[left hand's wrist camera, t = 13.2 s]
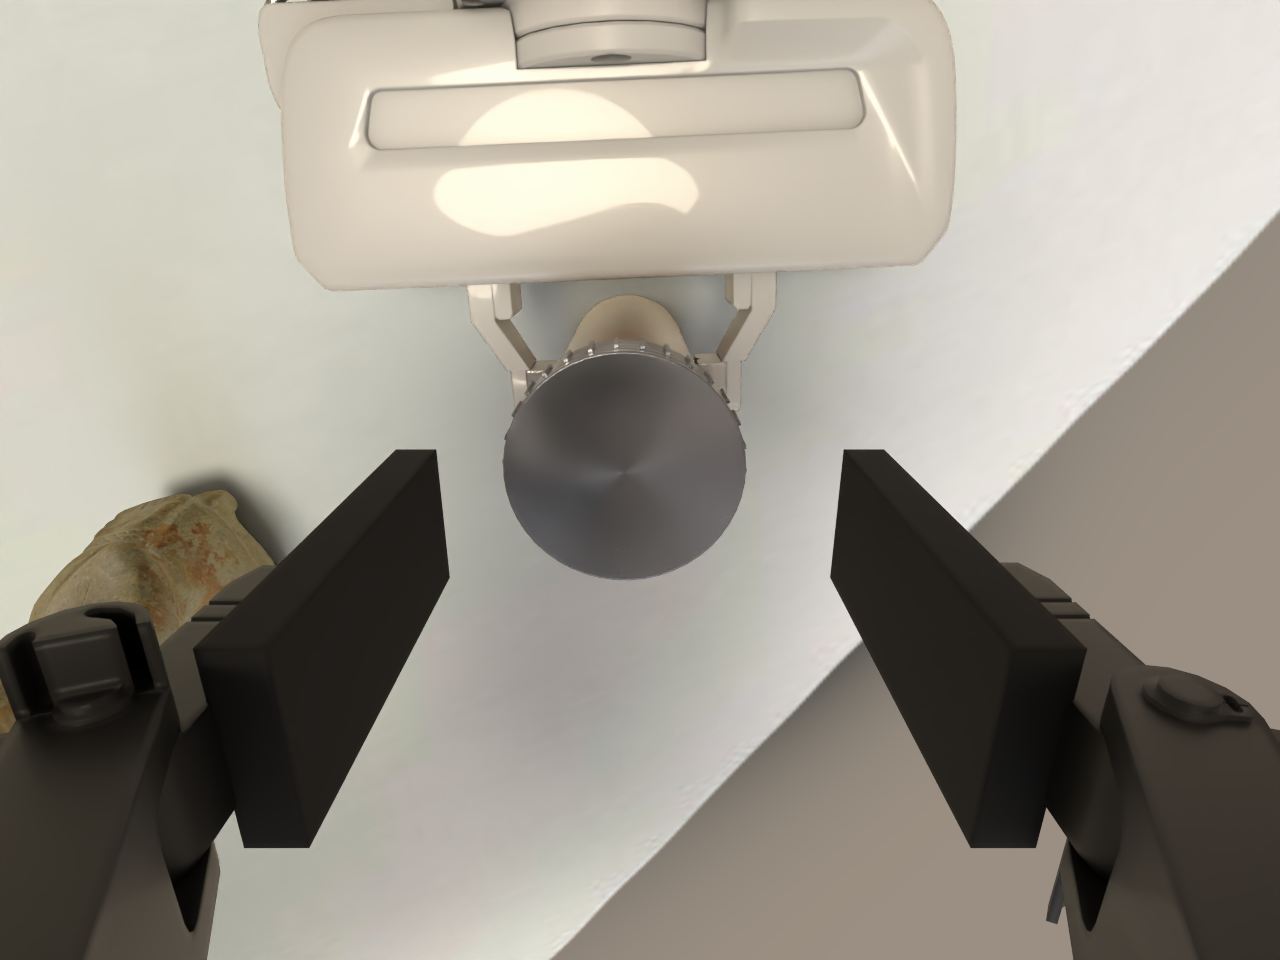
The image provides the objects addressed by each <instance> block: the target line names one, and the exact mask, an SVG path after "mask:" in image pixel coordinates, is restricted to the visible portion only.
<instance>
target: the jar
mask: <svg viewBox="0 0 1280 960" xmlns="http://www.w3.org/2000/svg"><path fill="white" fill-rule="evenodd" d="M615 337H619V340H620V339H621V340H639V341H640V338H645V341H646V342H651V343H655V344H658V345H661V346H664V344H665V343H666V344H668V345H669V347H670V349H672V350H674V351H676V352H678V353H680V354H682V355H684V356H685V357H686V356H687V354H688V355H690V353H689V350H688V348H687V346H686V343H685V341H684V338H683V336H682V334H681V331H680V329H679V327H678V325H677V323H676V321H675V320H674V318H673V317H672V316H671V314H670V313H669V312H668V311H667V310H666V309H664V308H663V307H662V306H661V305H659V304H658V303H656V302H654V301H652V300H650V299H648V298H645V297H641V296H636V295H620V296H615V297H611V298H609V299H606V300H604V301H602V302H600V303H598V304H597V305H596V306H594V307H593V308H592V309H591V310H590V311H589V312H588V313H587V314H586V315H585V316H584V318H583V319H582V320H581V322H580V324H579V326H578V328H577V330H576V332H575V334H574V336H573V338H572V340H571V342H570V344H569V346H568V348H567V350H566V352H567V351H568V350H570V349H571V351H572V352H573V351H575V350H578V349H580V348H583V347H585V346H588V345H589V343H590V341H593V340H594V342H595V343H599V342H603V341H610V340H614V339H615ZM566 352H565V354H566ZM565 354H564V356H565ZM564 356H563V357H564ZM690 356H691V355H690Z"/></svg>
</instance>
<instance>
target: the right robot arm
mask: <svg viewBox="0 0 1280 960" xmlns="http://www.w3.org/2000/svg"><path fill="white" fill-rule="evenodd" d="M286 1H287V0H266V2H265V4H264V6H263V7H262V9H261V10H260V14H259V24H258V27H259V37H260V42H261V47H262V52H263V58H264V63H265V68H266V73H267V78H268V83H269V86H270V89H271V91H272V94H273V96H274V99H275V101H276V103H277V104H278V106H279V108H280V109H281V130H282V153H283V167H284V180H285V191H286V199H287V208H288V216H289V223H290V230H291V237H292V242H293V248H294V252H295V255H296V258H297V259H298V261H299V263H300V264H301V265H302V266H303V267H304V268H305V269H306V271H307V272H308V273H309V274H310V275H311V276H312V277H313V278H314V279H315V280H316V281H317V282H318V283H319V284H320V285H321V286H323V287H324V288H325V289H327V290H329V291H354V290H377V289H399V288H421V287H444V286H466V285H467V293H468V301H469V309H470V317H471V322H472V324H473V325H474V327H475V328H476V329H477V331H478V332H479V333H480V335H481V336H482V338H483V339H484V340H485V342H486V343H487V344H488V346H489V347H490V349H491V350H492V351H493V353H494V354H495V355H496V357H497V358H498V360H499V361H500V362H501V364H502V365H503V366H504V368H505V369H506V371H511V378H512V387H513V396H514V405H515V408H516V407H517V405H518V403H519V402H520V401H522V402H523V401H524V399H525V398H526V395H524V393H525V391H526V390H527V388H528V386H529V385H530V383H531V382H532V381H534V382H536V381H537V380H538V379H539V377H540V376H541V375H542V373H543V371H544V369H545V368H546V366H547V365H548V364H549V363H550V364H551V365H553V364H554V363H556V362H557V361H558V360H547V361H536V358H535V357H534V355H533V354H532V352H531V351H530V349H529V348H528V346H527V345H526V343H525V342H524V340H523V338H522V337H521V335H520V334H519V332H518V331H517V329H516V328H515V326H514V325H513V323H512V322H511V320H510V319H511V318H512V317H513V316H514V315H516V314H517V313H518V312H519V311H520V310H521V309H522V301H521V289H520V283H534V282H556V281H578V280H601V279H623V278H646V277H668V276H691V275H713V274H725V288H726V300H727V301H728V302H729V303H730V304H731V305H733V306H734V307H735V308H736V309H739V310H738V312H737V314H736V315H735V317H734V319H733V321H732V323H731V325H730V327H729V328H728V330H727V332H726V334H725V336H724V338H723V339H722V341H721V343H720V345H719V347H718V349H717V351H716V352H717V353H706V354H694V363H695V364H697V365H698V366H699V367H700V368H701V369H703V370H704V371H706V370H708V371H709V372H710V373H711V375H712V377H713V379H714V381H715V384H716V385H717V387H718V388H719V389H722V388H723V389H724V391H725V393H726V395H727V397H728V398H729V400H730V403H729V404H728V406H729V408H730V410H732V409H734V411H736V410H739V409H740V404H741V361H745V360H746V358H747V356H748V355H749V353H750V351H751V350H752V348H753V346H754V345H755V343H756V341H757V339H758V338H759V336H760V334H761V333H762V331H763V329H764V328H765V326H766V324H767V323H768V321H769V319H770V318H771V316H772V314H773V313H774V311H775V309H776V281H777V272H780V271H803V270H825V269H848V268H870V267H892V266H913V265H917V264H919V263H921V262H922V261H923V260H924V259H925V258H926V257H927V256H928V255H929V253H930V252H931V251H932V250H933V248H934V247H935V246H936V245H937V243H938V242H939V241H940V239H941V238H942V237H943V235H944V234H945V233H946V230H947V228H948V225H949V222H950V216H951V210H952V202H953V191H954V178H955V162H956V118H957V106H956V75H955V59H954V50H953V45H952V40H951V36H950V32H949V29H948V26H947V23H946V21H945V19H944V17H943V15H942V13H941V11H940V9H939V8H938V7H937V6H936V4H935V3H934V2H933V0H308V1H305V2H286Z"/></svg>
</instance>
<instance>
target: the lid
mask: <svg viewBox="0 0 1280 960" xmlns="http://www.w3.org/2000/svg"><path fill="white" fill-rule="evenodd" d="M524 395H526V398H525V399H524V401H523V402H522V401H520V402H519V403H518V405H517V407H516V408H515V410H514V412H513V414H512V416H513V417H514V419H513V421H512V424H511V426H510V428H509V430H508V432H507V433H506V435H505V440H506V443H505V448H504V458H503V472H504V481H505V487H506V492H507V495H508V498H509V501H510V504H511V507H512V509H513V511H514V513H515V515H516V517H517V519H518V521H519V522H520V524H521V525H522V527H523V528H524V530H525V531H526V533H527V534H528V535H529V536H530V537H531V538H532V540H533V541H534V542H535V543H536V544H537V545H538V546H539V547H540V548H542V549H543V550H544V551H545V552H546V553H547V554H549V555H550V556H552V557H553V558H554V559H556V560H557V561H559V562H561V563H562V564H564V565H566V566H568V567H570V568H572V569H574V570H577V571H579V572H582V573H585V574H588V575H592V576H596V577H599V578H606V579H613V580H635V579H645V578H650V577H654V576H659V575H662V574H665V573H668V572H671V571H674V570H676V569H678V568H680V567H682V566H684V565H686V564H688V563H689V562H691V561H692V560H694V559H696V558H697V557H699V556H700V555H701V554H702V553H704V552H705V551H706V550H707V549H708V548H710V547H711V546H712V545H713V544H714V542H715V541H716V540H717V539H718V538H719V537H720V536H721V535H722V533H723V532H724V531H725V529H726V528H727V526H728V525H729V523H730V522H731V520H732V518H733V516H734V514H735V512H736V510H737V508H738V505H739V502H740V500H741V497H742V493H743V488H744V484H745V474H746V457H745V449H746V444H745V442H744V440H743V438H742V435H741V432H740V429H739V427H738V426H739V425H741V423H740V421H739V419H738V417H737V415H736V413H735V411H734V409H732V410H730V408H729V406H728V404H729V403H730V400H729V398H728V397H727V395H726V393H725V391H724V389H723V388H722V389H719V388H718V387H717V385H716V384H715V381H714V379H713V377H712V375H711V373H710V372H709V371H708V370H706V371H704V370H703V369H701V368H700V367H699V366H698V365H697V364H695V363H694V362H693V360H692V358H691V356H690V355H688V354H687V356H686V357H685V356H684V355H682V354H680V353H678V352H676V351H674V350H672V349H670V347H669V345H668V344H666V343H665V344H664V346H661V345H658V344H655V343H651V342H646V341H645V338H640V341H639V340H621V339H620V340H619V337H615V339H614V340H610V341H603V342H599V343H595V342H594V340H593V341H590V343H589V345H588V346H585V347H583V348H580V349H578V350H575V351H573V352H572V351H571V349H570V350H568V351H567V352H566V354H565V356H564V357H563V358H561V359H560V360H558V361H557V362H556V363H554V364H553V365H551V364H550V363H549V364H548V365H547V366H546V368H545V369H544V371H543V373H542V375H541V376H540V377H539V379H538V380H537V381H536V382H534V381H532V382H531V383H530V385H529V386H528V388H527V390H526V391H525V393H524Z"/></svg>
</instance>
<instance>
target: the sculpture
mask: <svg viewBox="0 0 1280 960" xmlns="http://www.w3.org/2000/svg"><path fill="white" fill-rule="evenodd" d="M237 508H238V504H237V501H236V500H235V498H234V497H233V496H232V495H231V494H230V493H229V492H227V491H225V490H214V491H207V492H203V493H200V494H197V495H195V496H193V497H192V496H190V495H187V494H178V495H173V496H168V497H164V498H160V499H156V500H153V501H149V502H146V503H143V504H140V505H137V506H135V507H132V508H129V509H127V510H124V511H122V512H121V513H119V514H118V515H117V516H116V517H115V519H114V520H112V521H110V522H108V523H107V524H106V525H105V527H104V528H102V529H101V530H100V531H99V532H98V533H97V534H96V535H95V537H94V539H93V541H92V542H91V543H90V544H89V546H88V547H87V548H86V549H85V550H84V551H83V553H82V554H81V555H79V556H78V557H76V558H75V559H74V560H73V561H71V562H70V563H69V564H68V565H67V566H66V567H65V568H64V569H63V570H62V571H61V572H60V573H59V574H58V575H57V576H56V577H55V579H54V580H53V581H52V582H51V584H50V585H49V586H48V587H47V588H46V590H45V591H44V592H43V593H42V594H41V596H40V597H39V599H38V600H37V602H36V603H35V605H34V607H33V610H32V612H31V616H30V620H29V623H30V622H32V621H34V620H37V619H40V618H43V617H45V616H48V615H51V614H53V613H56V612H59V611H62V610H66V609H70V608H75V607H79V606H83V605H88V604H93V603H104V602H115V601H120V602H129V603H137V604H140V605H141V606H143V607H145V608H146V609H148V610H150V614H151V617H152V621H153V624H154V628H155V632H156V635H157V639H158V642H159V646H160V645H161V644H162V643H163V642H165V641H166V640H167V639H168V638H169V637H170V636H171V635H172V634H173V633H174V632H176V631H177V630H178V629H179V628H180V627H181V626H182V625H183V624H184V623H186V622H191V617H192V616H193V615H194V614H195V613H197V612H198V611H199V610H200V609H201V608H202V607H203V606H204V605H209V601H210V600H211V599H212V598H213V597H214V596H215V595H216V594H218V593H219V592H220V591H221V590H222V589H223V588H224V587H225V586H226V585H228V584H229V583H230V582H231V581H233V580H235V579H237V578H239V577H241V576H243V575H245V574H246V573H248V572H250V571H252V570H254V569H256V568H258V567H260V566H262V565H275V564H274V562H273V561H272V559H271V558H270V556H269V555H268V554H267V553H266V551H265V550H264V549H263V548H262V546H261V545H260V544H259V543H258V542H257V541H256V540H255V539H254V538H253V537H252V536H251V535H250V534H249V533H248V532H247V530H246V529H245V528H244V527H243V526H242V525H241V524H240V523H239V521H238V519H237V518H236V515H235V511H236V510H237ZM15 721H16V719H15V716H14V714H13V711H12V708H11V706H10V703H9V701H8V698H7V695H6V693H5V690H4V687H3V685H2V682H1V679H0V734H2V733H7V732H9V731H10V729H11V728H12V726H13V724H14V723H15Z"/></svg>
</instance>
